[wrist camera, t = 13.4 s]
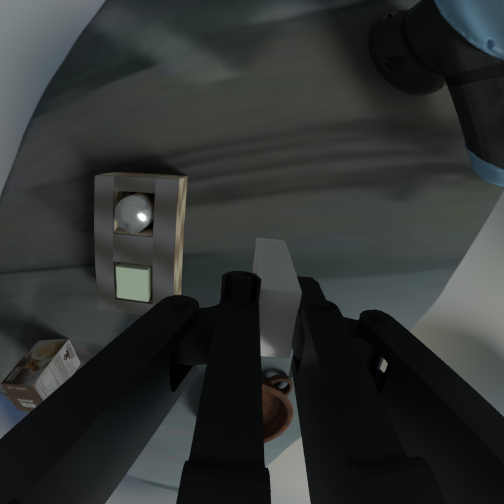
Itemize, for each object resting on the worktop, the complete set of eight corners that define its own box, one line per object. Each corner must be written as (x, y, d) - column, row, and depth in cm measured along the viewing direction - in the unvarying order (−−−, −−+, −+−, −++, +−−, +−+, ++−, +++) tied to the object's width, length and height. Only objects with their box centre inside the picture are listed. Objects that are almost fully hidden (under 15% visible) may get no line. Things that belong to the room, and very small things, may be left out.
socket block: (114, 172, 46) (95, 175, 40) (187, 176, 47) (178, 179, 40) (114, 290, 52) (98, 308, 45) (180, 299, 53) (172, 319, 46)
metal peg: (132, 189, 47) (115, 195, 40) (163, 191, 47) (150, 197, 40) (131, 221, 48) (114, 231, 41) (161, 223, 48) (148, 234, 42)
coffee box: (50, 364, 57) (16, 410, 42) (38, 339, 55) (-1, 382, 40) (82, 363, 57) (49, 414, 41) (69, 337, 55) (31, 385, 39)
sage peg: (131, 252, 50) (115, 266, 43) (159, 255, 50) (147, 270, 43) (131, 280, 51) (117, 297, 44) (159, 283, 51) (147, 301, 44)
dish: (179, 408, 60) (175, 424, 55) (250, 344, 56) (250, 361, 51) (243, 443, 64) (243, 460, 59) (316, 390, 59) (320, 406, 55)
